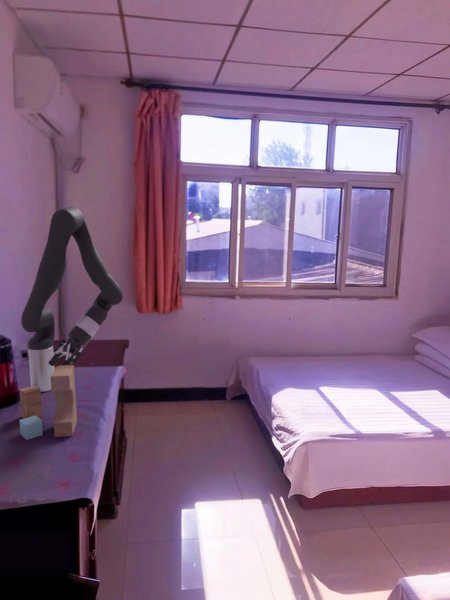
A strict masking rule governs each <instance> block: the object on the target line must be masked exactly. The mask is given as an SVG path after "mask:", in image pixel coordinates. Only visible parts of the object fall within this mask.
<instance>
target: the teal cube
mask: <svg viewBox="0 0 450 600" xmlns="http://www.w3.org/2000/svg"><path fill="white" fill-rule="evenodd" d="M18 422H19V430H20V431H19V434H20V436H22V438H23V439H25V440H26V441H28V440H32V439H34V438H38V437H40V436H43V434H44V433H43V421H42V419H41V418H38V417H37V416H36V415H35V416H31V417H28V418H22V419H19V421H18Z"/></svg>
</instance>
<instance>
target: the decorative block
mask: <svg viewBox="0 0 450 600" xmlns="http://www.w3.org/2000/svg"><path fill="white" fill-rule="evenodd" d="M75 377H76V376H75V366H74V365H73V364H69V365H64V366H60V365H57V366H56V367H55V370H54V372H53V374H52V376H51V390H50V391H51V392H54V393H53V394H54V398H55V413H54V414H55V415H54V421H53V436H54V437H55V438H56V437H57V438H67V437H73V435H74V433H75V428H76V425H77V422H78V415H77V413H78V411H77V399H76V397H77V395H76V380H75V379H76V378H75Z"/></svg>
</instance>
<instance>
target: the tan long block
mask: <svg viewBox="0 0 450 600" xmlns="http://www.w3.org/2000/svg"><path fill="white" fill-rule="evenodd" d="M41 394H42V392H41V391H40V389H39V388H37V387H36V386H31V385H30V386H27V387H23V388H20V389H19V396H20V410H21V418H22V419H24V418H28V417H31V416H35V415H36V416H37V417H38V418H39V419H41V418H43V410H42V409H43V408H42V407H43V406H42V395H41ZM40 417H41V418H40Z"/></svg>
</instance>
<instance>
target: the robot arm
mask: <svg viewBox="0 0 450 600" xmlns="http://www.w3.org/2000/svg"><path fill="white" fill-rule="evenodd" d="M48 229H49V231H48V235H47V240H46V244H45V247H44V251H43V253H42V256H41V261H40V262H39V265H38V269H37V273H36V276H35V279H34V283H33V286H32V288H31V292H30V295H29V296H28V300H27V302H26V305H25V306H24V308H23V311H22V314H21V320H20V321H21V322H20V323H21V326H22V328H23V330H25V332H27V333H34V335H33V336H32V337H31V338H30V339H29V340H28V341H27V349H28V350H27V351H28V362H29V363H28V365H29V379H30V387H31V386H36V387H37V388H39V389H40V391H41V393H43V392H49V391H51V376H52V374H53V372H54V370H55V369H56V367H55V365H56V363H58V361H59V359H60V358H61V357H64V356H65V359H64V360H63V361H62V363H61V364H60V365H59V366H64V365H73V364H76V363H77V362H78V360H79V359H80V357H82V355H83V353H84V352H85V347H87V345H88V343H90V342H91V340H92V338H93V337H95V335H96V333H97V332H98V330H99V328H100V327H101V326H102V324H103V323H104V322H105V320H106V319H107V317H108V312H109V311H110V310H111V308H112V307H113V306H116V305H119V304H120V303H121V302H122V301H123V299H124V295H123V294H124V293H123V291H122V288H121V287H120V284H118V283H117V281H116V280H115V279H114V277H113V276H111V274H110V271H109V270H108V268H107V266H106V265H105V262H104V260H103V259H102V257H101V255H100V254H99V251H98V249H97V247H96V245H95V242H94V240H93V238H92V235H91V233H90V231H89V227H88V224H87V221H86V219H85V217H84V215H83V213H82V212H81V210H80V209H79V208H77V207H74V206H67V207H62V208H59V209H57V210H55V212H54V213H53V214H52V216H51V220H50V225H49V228H48ZM72 237H73V239H74V240H75V243H76V245H77V248H78V250H79V253H80V258H81V262H82V265H83V267H84V270H85V271H86V272H87V275H88V277H89V278H90V280H91V282H92V283H93V284H94V285H96V287H98V289H99V290H100V292H99V294H97V296H96V298H95V300H94V301H93V303H92V305H91V306H90V307H89V309H87V311H86V312H85V314H84V315H83V316H82V317H81V318H80V319H79V320H78V321H77V322H76V324H75V325H74V326H73V327H72V328H71V330H70V331H69V332H68V334H67V336H68V339H67V340H66V338H62V339H61V341H59V343H58V344H57V345H56V346H55V348H54V341H55V337H56V336H55V331H56V330H55V314H54V312H53V310H52V309H51V308H50V307H49V306H46V304H47V303H48V301H49V300H50V298H51V297H52V296H53V294H55V292H56V291H57V290H59V287H60V286H61V284H62V282H63V279H64V276H65V273H66V269H67V249H68V245H69V243H70V240H71V238H72Z"/></svg>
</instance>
